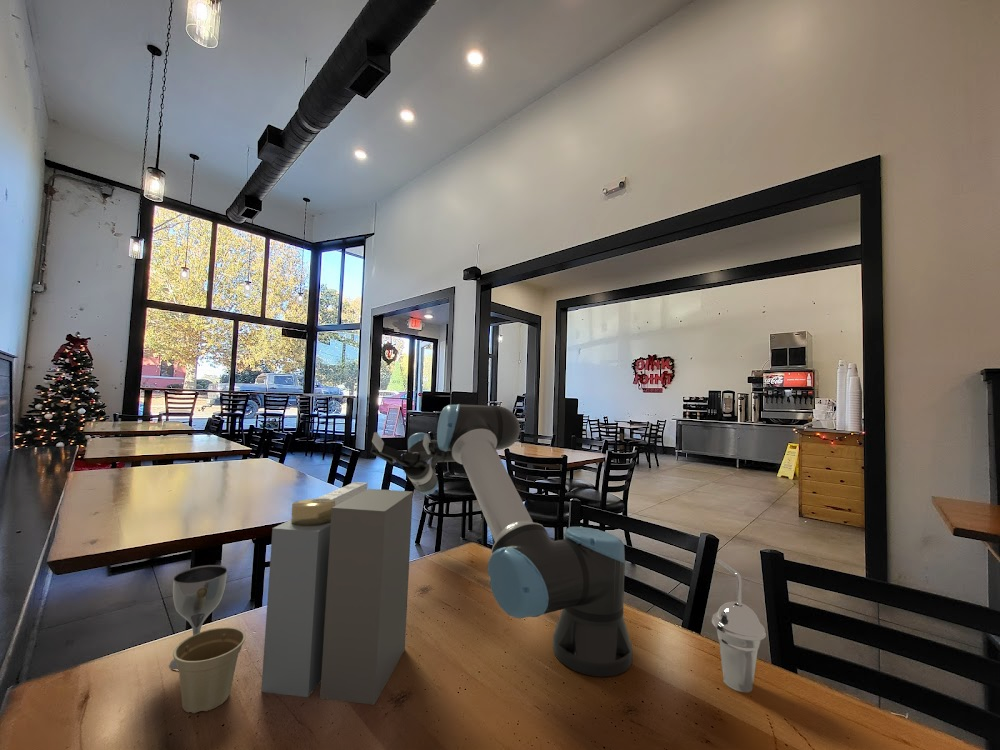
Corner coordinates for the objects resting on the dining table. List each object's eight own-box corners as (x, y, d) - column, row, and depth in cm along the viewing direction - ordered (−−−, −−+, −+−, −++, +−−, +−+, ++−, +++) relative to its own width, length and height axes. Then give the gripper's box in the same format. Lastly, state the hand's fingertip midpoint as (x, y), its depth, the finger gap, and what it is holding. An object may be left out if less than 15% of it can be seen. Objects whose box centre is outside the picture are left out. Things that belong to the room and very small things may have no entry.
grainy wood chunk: (375, 497, 94) (376, 483, 94) (321, 527, 71) (322, 509, 72) (345, 495, 95) (346, 481, 95) (282, 524, 72) (283, 506, 72)
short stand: (350, 643, 83) (357, 508, 84) (308, 697, 68) (318, 531, 69) (311, 639, 84) (319, 505, 85) (261, 691, 69) (272, 528, 70)
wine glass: (226, 659, 76) (232, 574, 77) (171, 679, 71) (178, 587, 72) (214, 641, 82) (220, 561, 83) (162, 658, 76) (169, 572, 77)
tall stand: (404, 649, 82) (412, 491, 83) (374, 704, 67) (384, 511, 69) (359, 644, 83) (368, 488, 84) (320, 698, 68) (331, 507, 69)
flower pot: (215, 725, 62) (219, 663, 62) (151, 721, 62) (156, 659, 62) (254, 682, 71) (258, 628, 71) (199, 678, 71) (203, 625, 72)
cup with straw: (718, 695, 72) (719, 574, 73) (705, 663, 81) (706, 556, 82) (774, 705, 70) (774, 581, 72) (754, 671, 79) (754, 561, 80)
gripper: (456, 482, 125) (444, 454, 108) (374, 477, 128) (349, 449, 110) (459, 458, 129) (448, 427, 112) (380, 454, 132) (357, 423, 114)
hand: (399, 438), depth 111 cm, fingers open, 13 cm apart
